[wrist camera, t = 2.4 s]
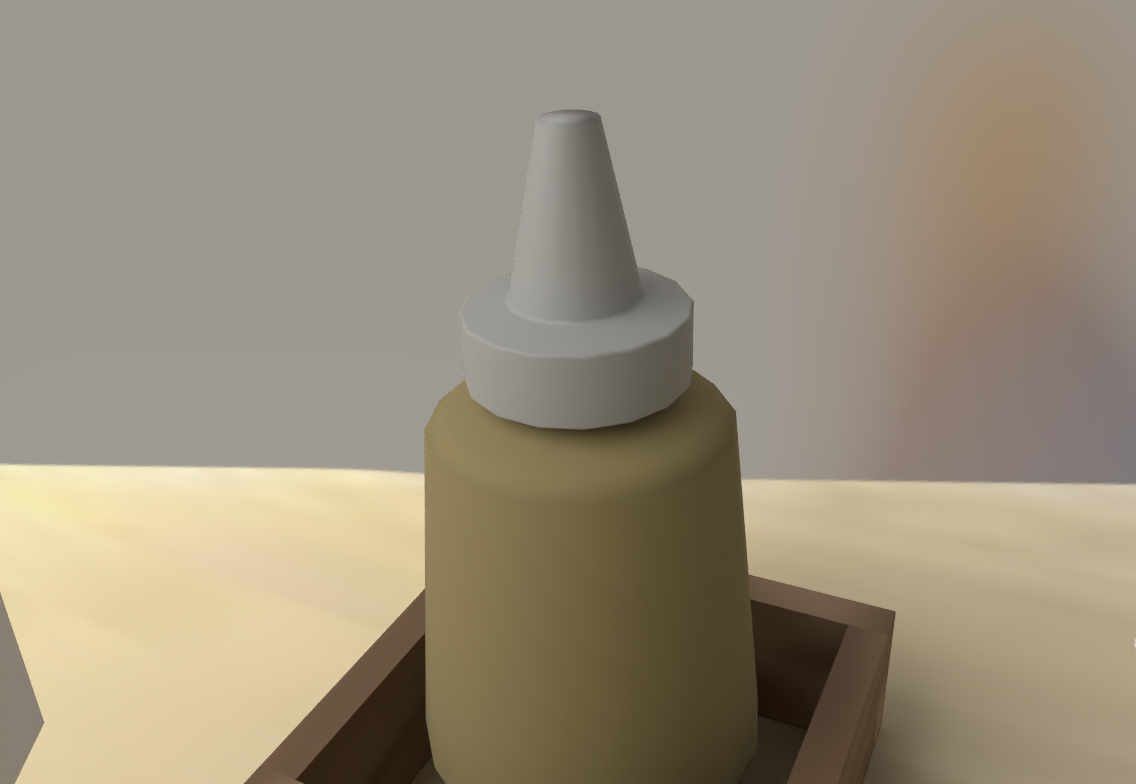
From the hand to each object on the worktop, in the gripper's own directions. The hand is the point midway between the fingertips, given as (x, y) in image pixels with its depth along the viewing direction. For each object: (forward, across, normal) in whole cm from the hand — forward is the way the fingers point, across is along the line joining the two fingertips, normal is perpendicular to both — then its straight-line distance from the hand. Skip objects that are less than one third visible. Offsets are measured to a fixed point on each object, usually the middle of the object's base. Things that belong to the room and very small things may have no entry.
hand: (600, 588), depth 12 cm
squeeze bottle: (+10, +1, -15) cm, 18 cm away
